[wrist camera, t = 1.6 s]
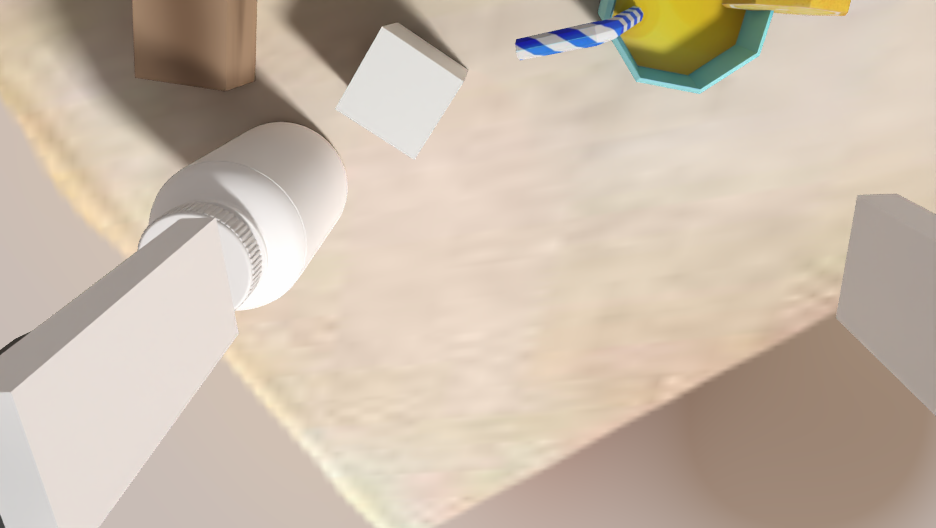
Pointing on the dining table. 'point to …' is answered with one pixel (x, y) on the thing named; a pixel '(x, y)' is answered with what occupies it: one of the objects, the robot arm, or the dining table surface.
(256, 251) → the pill bottle
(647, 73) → the cup
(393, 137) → the white block
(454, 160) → the dining table surface
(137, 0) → the walnut cube
